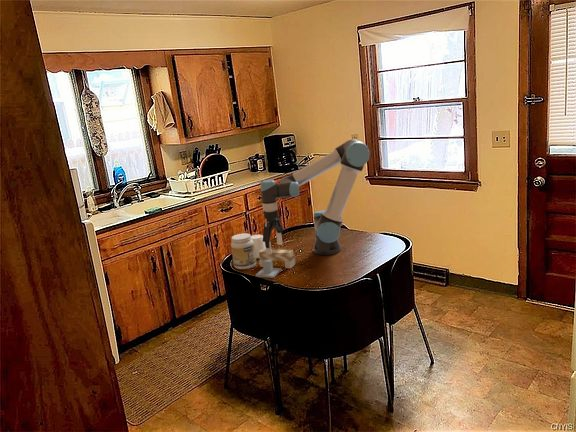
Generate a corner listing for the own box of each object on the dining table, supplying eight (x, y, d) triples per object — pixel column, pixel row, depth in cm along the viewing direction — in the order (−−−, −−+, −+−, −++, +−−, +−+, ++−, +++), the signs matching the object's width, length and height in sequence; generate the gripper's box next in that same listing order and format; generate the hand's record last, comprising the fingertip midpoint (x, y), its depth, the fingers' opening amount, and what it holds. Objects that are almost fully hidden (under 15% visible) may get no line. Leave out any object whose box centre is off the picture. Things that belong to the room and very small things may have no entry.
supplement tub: (250, 270, 245) (246, 240, 240) (230, 269, 249) (225, 240, 245) (260, 261, 255) (256, 232, 251) (240, 261, 260) (236, 232, 255)
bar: (294, 258, 245) (293, 250, 244) (290, 261, 241) (289, 253, 240) (263, 256, 252) (262, 248, 251) (259, 259, 248) (258, 251, 247)
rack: (295, 263, 247) (294, 257, 246) (290, 268, 241) (289, 262, 240) (265, 262, 254) (264, 256, 253) (259, 266, 248) (259, 260, 247)
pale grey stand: (281, 270, 240) (280, 257, 238) (273, 277, 232) (271, 264, 230) (264, 269, 244) (262, 256, 242) (255, 276, 236) (253, 263, 234)
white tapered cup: (264, 258, 259) (261, 238, 256) (250, 259, 261) (247, 239, 258) (268, 253, 267) (265, 233, 263) (254, 254, 268) (251, 234, 265)
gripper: (273, 203, 252) (277, 240, 257) (252, 216, 230) (257, 256, 236) (286, 203, 249) (290, 241, 254) (266, 217, 227) (271, 257, 233)
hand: (274, 248), depth 245 cm, fingers open, 13 cm apart
